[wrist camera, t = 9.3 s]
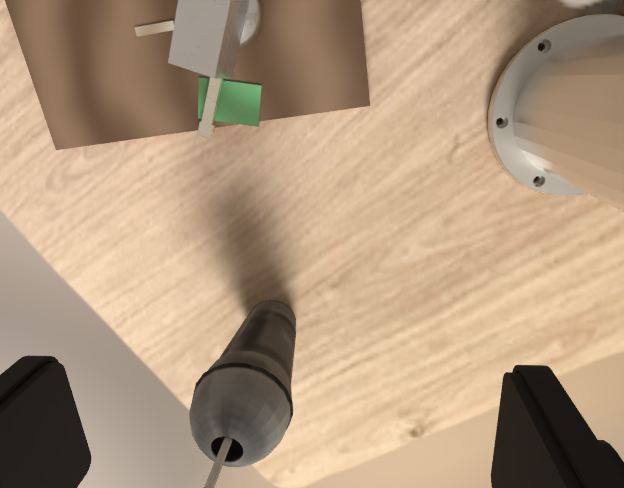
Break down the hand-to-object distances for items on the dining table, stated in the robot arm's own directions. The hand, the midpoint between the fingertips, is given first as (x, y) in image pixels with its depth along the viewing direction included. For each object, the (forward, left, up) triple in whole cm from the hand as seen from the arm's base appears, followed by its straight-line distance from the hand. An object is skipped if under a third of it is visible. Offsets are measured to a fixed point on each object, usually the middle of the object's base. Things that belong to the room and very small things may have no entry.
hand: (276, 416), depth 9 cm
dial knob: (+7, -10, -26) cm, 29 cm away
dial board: (+10, -12, -28) cm, 32 cm away
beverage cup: (+8, +14, -28) cm, 33 cm away
